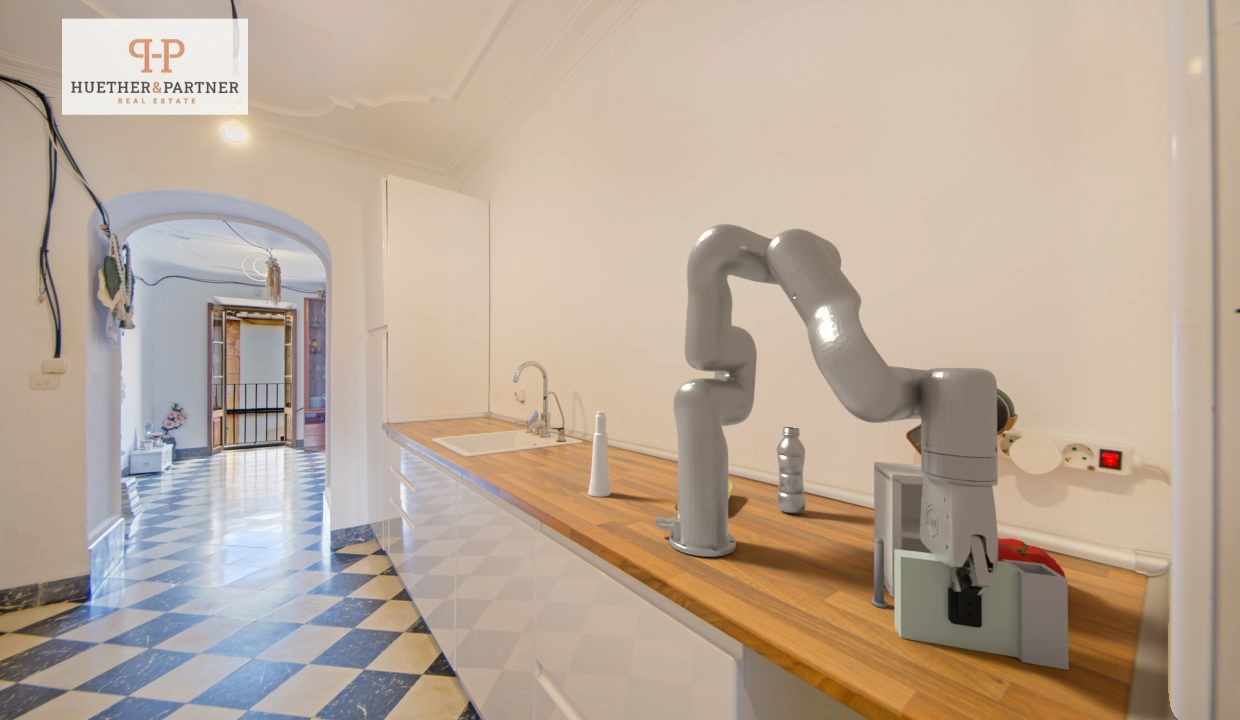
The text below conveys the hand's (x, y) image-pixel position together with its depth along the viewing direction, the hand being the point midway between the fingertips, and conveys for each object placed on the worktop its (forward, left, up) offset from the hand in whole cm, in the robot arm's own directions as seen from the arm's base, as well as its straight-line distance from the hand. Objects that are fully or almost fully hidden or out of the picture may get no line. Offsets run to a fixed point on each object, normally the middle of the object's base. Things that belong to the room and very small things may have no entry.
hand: (958, 616), depth 54 cm
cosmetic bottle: (-63, +47, -3) cm, 79 cm away
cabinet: (0, +13, -3) cm, 13 cm away
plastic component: (-35, +48, -4) cm, 60 cm away
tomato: (+16, +20, -4) cm, 26 cm away
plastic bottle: (-15, +48, -3) cm, 51 cm away
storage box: (+1, 0, -3) cm, 4 cm away
